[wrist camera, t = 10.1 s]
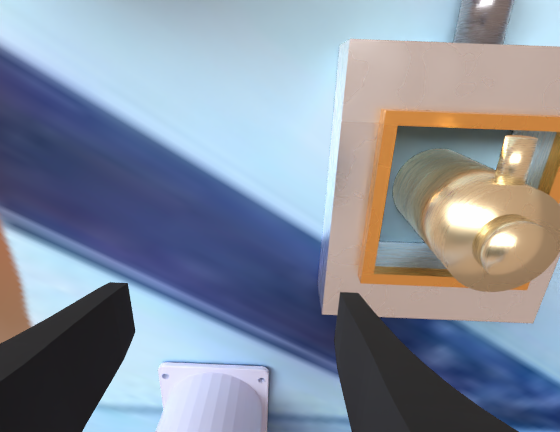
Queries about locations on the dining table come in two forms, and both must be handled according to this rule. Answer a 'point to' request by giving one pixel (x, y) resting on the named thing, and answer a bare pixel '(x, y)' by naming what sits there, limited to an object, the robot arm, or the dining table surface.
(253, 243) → the dining table surface
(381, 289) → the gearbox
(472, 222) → the spout can
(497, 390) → the dining table surface
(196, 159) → the dining table surface
